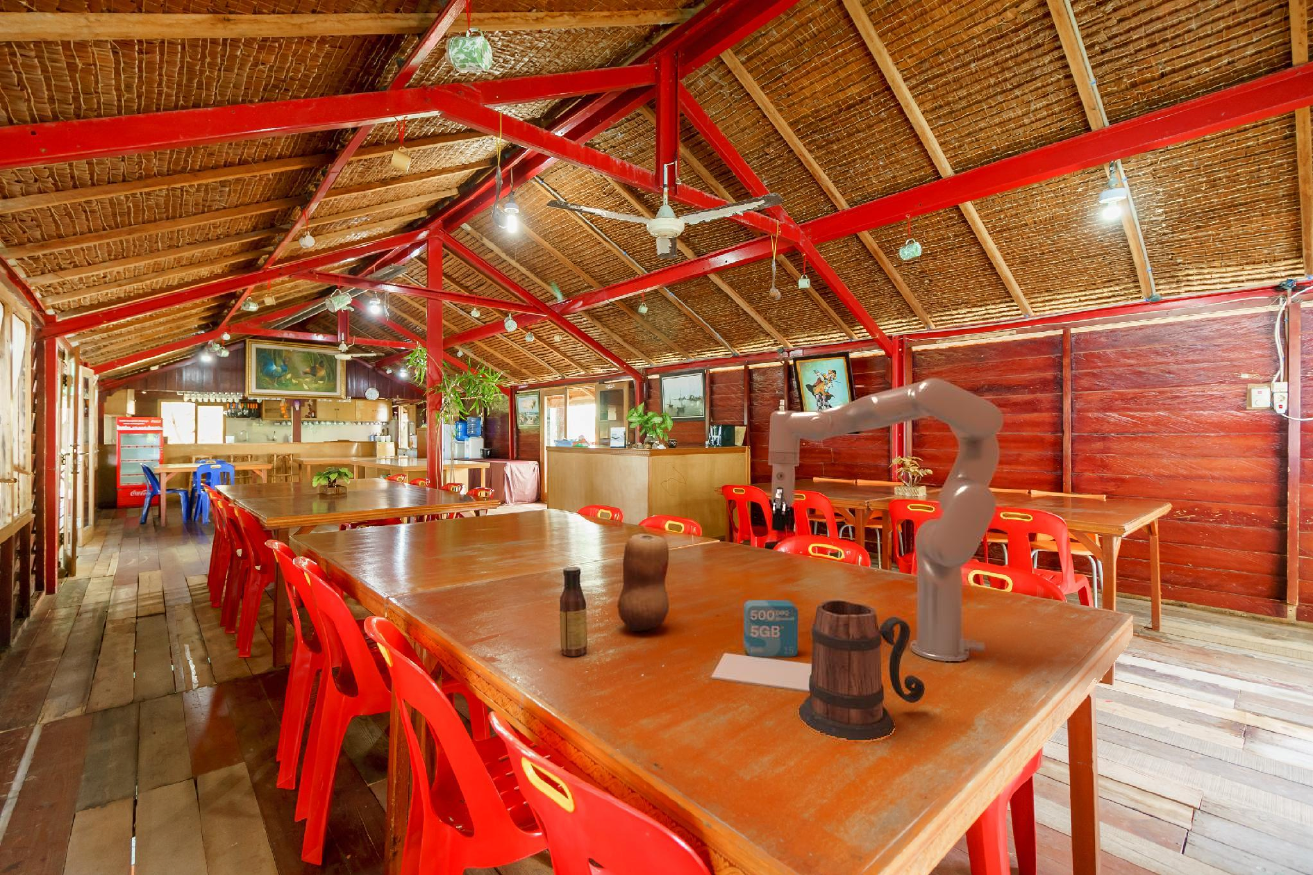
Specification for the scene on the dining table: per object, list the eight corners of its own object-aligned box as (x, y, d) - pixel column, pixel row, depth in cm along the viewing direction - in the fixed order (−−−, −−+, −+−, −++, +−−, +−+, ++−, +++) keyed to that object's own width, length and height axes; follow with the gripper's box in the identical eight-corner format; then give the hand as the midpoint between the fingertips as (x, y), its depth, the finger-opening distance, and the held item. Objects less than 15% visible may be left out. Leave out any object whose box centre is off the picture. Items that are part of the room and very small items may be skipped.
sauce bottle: (592, 650, 135) (592, 566, 135) (577, 659, 130) (578, 572, 130) (569, 646, 138) (569, 564, 138) (553, 654, 132) (554, 569, 133)
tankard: (822, 746, 94) (822, 624, 94) (783, 700, 110) (784, 596, 110) (951, 735, 97) (952, 618, 97) (895, 692, 114) (895, 592, 114)
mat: (813, 666, 127) (813, 664, 127) (809, 692, 114) (809, 690, 114) (724, 654, 133) (724, 653, 133) (711, 678, 120) (711, 676, 120)
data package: (746, 657, 132) (746, 605, 132) (743, 650, 136) (743, 599, 137) (798, 657, 132) (798, 605, 132) (793, 650, 137) (793, 600, 137)
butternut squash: (663, 640, 143) (663, 540, 143) (611, 636, 145) (612, 538, 145) (672, 623, 156) (673, 532, 156) (625, 619, 159) (626, 530, 159)
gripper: (795, 461, 134) (792, 534, 134) (801, 459, 150) (798, 524, 150) (763, 459, 136) (760, 531, 136) (772, 458, 153) (770, 521, 153)
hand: (780, 527), depth 143 cm, fingers open, 9 cm apart
